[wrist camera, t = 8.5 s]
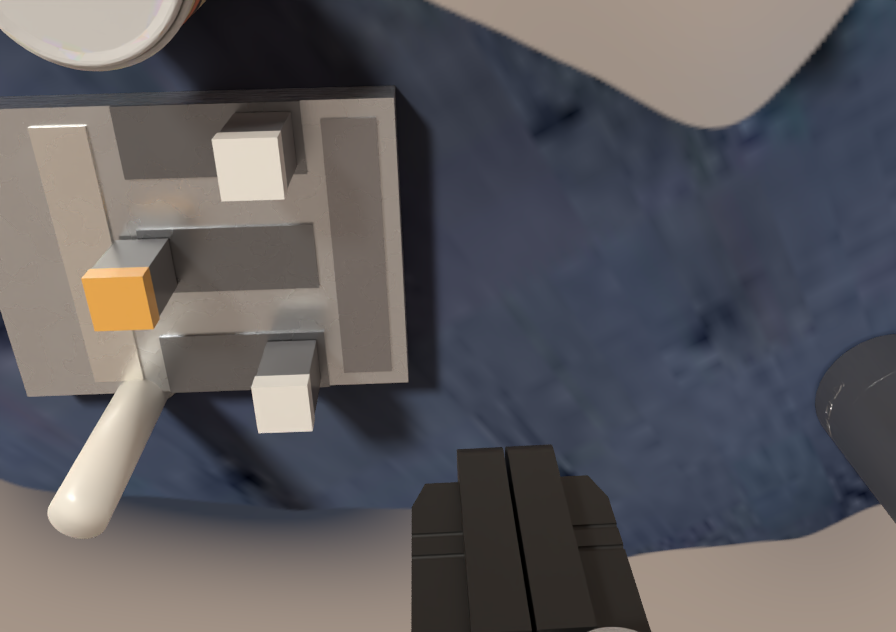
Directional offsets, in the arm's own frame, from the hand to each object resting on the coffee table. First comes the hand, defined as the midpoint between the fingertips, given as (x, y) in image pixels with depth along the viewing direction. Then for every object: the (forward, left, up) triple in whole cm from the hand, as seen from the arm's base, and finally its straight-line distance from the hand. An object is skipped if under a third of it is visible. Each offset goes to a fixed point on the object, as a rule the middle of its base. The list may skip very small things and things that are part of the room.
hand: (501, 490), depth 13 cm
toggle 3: (+9, +17, -33) cm, 39 cm away
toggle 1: (+17, +11, -33) cm, 39 cm away
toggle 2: (+9, +3, -33) cm, 35 cm away
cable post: (+19, +20, -37) cm, 46 cm away
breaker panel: (+14, +10, -37) cm, 41 cm away
